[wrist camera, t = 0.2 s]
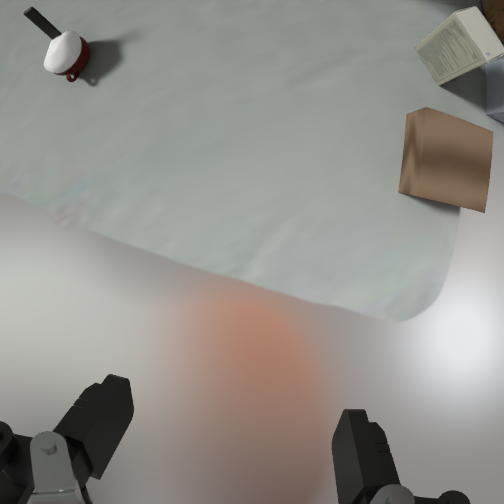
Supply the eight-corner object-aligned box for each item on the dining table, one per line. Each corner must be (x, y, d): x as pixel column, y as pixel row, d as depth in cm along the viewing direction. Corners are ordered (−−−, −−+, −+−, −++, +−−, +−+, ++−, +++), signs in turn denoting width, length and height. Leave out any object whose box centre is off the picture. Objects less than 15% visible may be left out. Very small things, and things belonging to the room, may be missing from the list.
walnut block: (405, 114, 33) (426, 107, 27) (468, 134, 32) (493, 132, 27) (397, 191, 36) (417, 196, 30) (460, 206, 35) (484, 212, 29)
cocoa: (89, 84, 35) (37, 70, 23) (57, 87, 35) (3, 77, 23) (103, 25, 32) (58, -3, 20) (69, 30, 32) (22, 9, 20)
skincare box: (458, 76, 30) (509, 54, 18) (437, 87, 31) (488, 64, 19) (433, 37, 29) (477, 4, 17) (411, 46, 30) (453, 11, 18)
